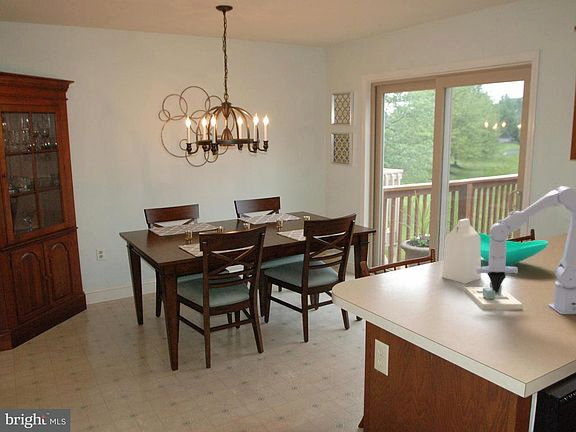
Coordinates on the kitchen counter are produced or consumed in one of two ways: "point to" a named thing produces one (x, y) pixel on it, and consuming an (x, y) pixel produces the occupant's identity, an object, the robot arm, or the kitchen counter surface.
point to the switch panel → (500, 301)
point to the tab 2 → (499, 288)
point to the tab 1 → (489, 293)
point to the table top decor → (513, 249)
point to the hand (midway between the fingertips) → (495, 291)
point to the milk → (462, 253)
